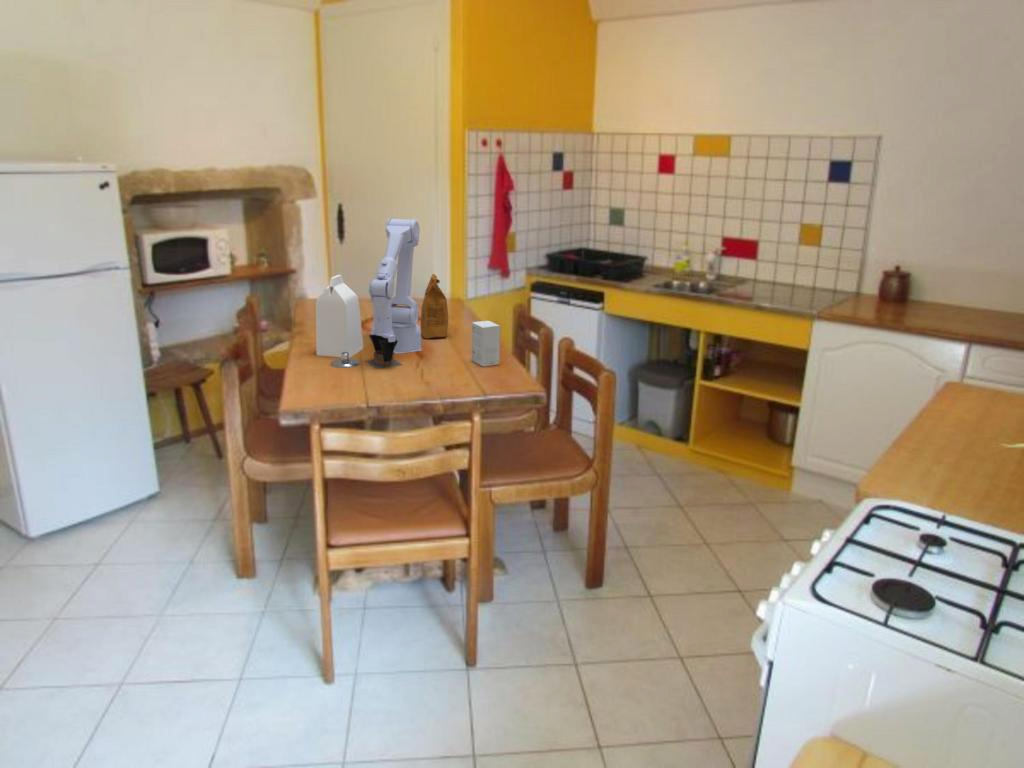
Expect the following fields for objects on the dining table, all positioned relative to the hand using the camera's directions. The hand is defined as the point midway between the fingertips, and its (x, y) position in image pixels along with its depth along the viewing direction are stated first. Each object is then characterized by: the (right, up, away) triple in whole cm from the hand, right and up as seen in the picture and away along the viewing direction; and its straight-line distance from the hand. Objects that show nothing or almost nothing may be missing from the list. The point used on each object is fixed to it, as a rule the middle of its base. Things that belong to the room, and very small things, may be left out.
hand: (383, 358), depth 239 cm
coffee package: (+12, +10, +37) cm, 41 cm away
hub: (-12, -2, -1) cm, 12 cm away
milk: (-17, +2, +12) cm, 21 cm away
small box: (+32, -1, +6) cm, 33 cm away
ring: (0, -1, 0) cm, 1 cm away
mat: (0, -2, +1) cm, 2 cm away
